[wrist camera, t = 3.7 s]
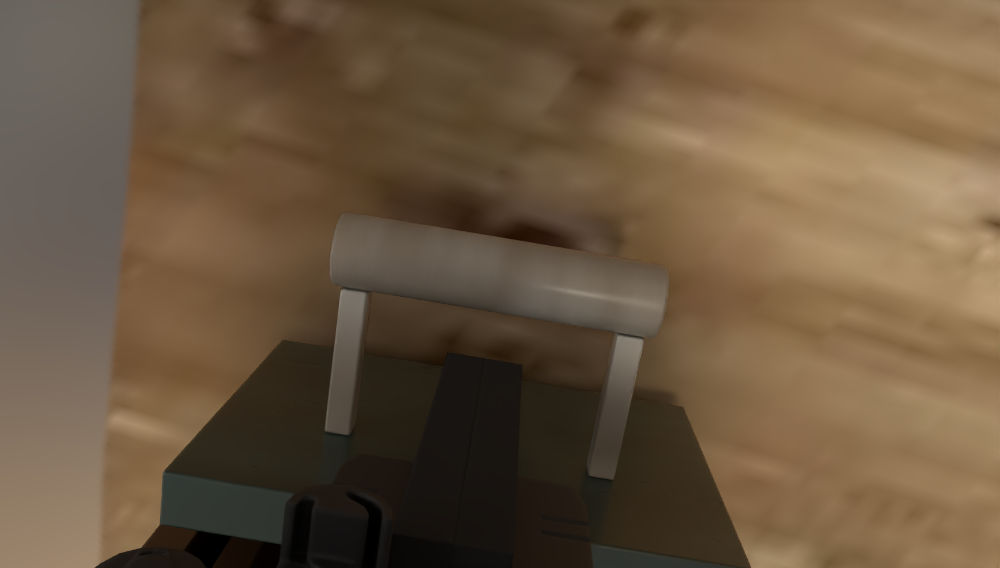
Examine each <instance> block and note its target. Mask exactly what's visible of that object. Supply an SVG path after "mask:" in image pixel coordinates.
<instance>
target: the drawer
mask: <svg viewBox="0 0 1000 568" xmlns="http://www.w3.org/2000/svg"><path fill="white" fill-rule="evenodd" d="M329 271H330V279H331V282H332V284H334V285H336V286H341V287H343V288H342V290H341V292H340V300H339V309H338V318H337V326H336V335H335V344H334V348H329V347H323V346H317V345H311V344H305V343H299V342H293V341H287V340H282V341H281V342H280V343H279V344H278V346H277V347H276V348H275V349H274V350H273V351H272V352H271V353H270V354H269V355H268V357H267V358H266V359H265V360H264V361H263V362H262V363H261V364H260V365H259V367H258V368H257V369H256V370H255V371H254V372H253V373H252V374H251V375H250V376H249V378H248V379H247V380H246V381H245V382H244V383H243V384H242V385H241V386H240V388H239V389H238V390H237V391H236V392H235V393H234V394H233V395H232V396H231V398H230V399H229V400H228V401H227V402H226V403H225V404H224V405H223V406H222V407H221V409H220V410H219V411H218V412H217V413H216V414H215V415H214V416H213V417H212V419H211V420H210V421H209V422H208V423H207V424H206V425H205V426H204V427H203V428H202V430H201V431H200V432H199V433H198V434H197V435H196V436H195V437H194V438H193V440H192V441H191V442H190V443H189V444H188V445H187V446H186V447H185V448H184V449H183V451H182V452H181V453H180V454H179V455H178V456H177V457H176V458H175V459H174V461H173V462H172V463H171V464H170V465H169V466H168V467H167V468H166V469H165V471H164V472H163V481H162V498H161V515H160V524H161V525H165V526H171V527H177V528H183V529H189V530H195V531H201V532H207V533H213V534H219V535H225V536H231V539H230V540H229V542H228V543H227V545H226V546H225V548H224V550H223V551H222V553H221V554H220V556H219V557H218V559H217V561H216V562H215V564H214V565H213V567H212V568H276V567H277V565H278V563H279V559H280V549H281V540H282V530H283V521H284V511H285V503H286V502H287V501H288V500H289V499H290V498H291V497H292V496H293V495H294V494H295V493H297V492H299V491H302V490H304V489H306V488H309V487H312V486H319V485H326V484H332V482H333V480H334V478H335V476H336V474H337V472H338V470H339V468H340V466H341V465H342V464H344V463H346V462H347V461H349V460H350V459H352V458H353V457H355V456H356V455H358V454H359V453H363V454H369V455H375V456H381V457H387V458H393V459H399V460H405V461H411V462H414V461H415V457H416V454H417V451H418V448H419V444H420V441H421V438H422V434H423V431H424V428H425V425H426V421H427V418H428V415H429V411H430V408H431V405H432V402H433V398H434V395H435V392H436V388H437V385H438V382H439V379H440V375H441V372H442V369H443V366H437V365H431V364H425V363H419V362H413V361H407V360H401V359H395V358H389V357H383V356H377V355H371V354H365V353H364V351H365V343H366V335H367V327H368V319H369V311H370V303H371V295H372V292H377V293H383V294H389V295H395V296H401V297H407V298H413V299H419V300H425V301H431V302H437V303H443V304H449V305H455V306H461V307H467V308H473V309H478V310H484V311H490V312H496V313H502V314H508V315H514V316H520V317H526V318H532V319H538V320H544V321H550V322H556V323H562V324H568V325H574V326H580V327H586V328H592V329H598V330H604V331H610V332H614V335H613V340H612V345H611V350H610V354H609V359H608V364H607V369H606V373H605V378H604V383H603V388H602V392H601V393H598V392H592V391H586V390H580V389H574V388H568V387H562V386H556V385H550V384H544V383H538V382H532V381H526V380H522V382H521V405H520V428H519V451H518V474H517V477H520V478H526V479H532V480H538V481H544V482H550V483H556V484H562V485H568V486H572V487H573V488H574V489H575V491H576V492H577V493H578V495H579V496H580V497H581V498H582V500H583V501H584V502H585V503H586V506H587V515H588V527H589V532H590V542H591V550H592V558H593V567H594V568H751V566H750V564H749V561H748V559H747V557H746V554H745V552H744V550H743V547H742V545H741V543H740V540H739V538H738V535H737V533H736V531H735V528H734V526H733V524H732V521H731V519H730V517H729V514H728V512H727V509H726V507H725V505H724V502H723V500H722V498H721V495H720V493H719V491H718V488H717V486H716V483H715V481H714V479H713V476H712V474H711V472H710V469H709V467H708V465H707V462H706V460H705V457H704V455H703V453H702V450H701V448H700V446H699V443H698V441H697V439H696V436H695V434H694V431H693V429H692V427H691V424H690V422H689V420H688V417H687V415H686V413H685V410H684V408H683V407H681V406H675V405H669V404H663V403H657V402H651V401H646V400H640V399H634V398H632V395H633V390H634V386H635V381H636V377H637V372H638V367H639V363H640V358H641V354H642V349H643V345H644V339H643V337H646V338H654V337H656V335H657V334H658V332H659V330H660V328H661V325H662V322H663V319H664V315H665V311H666V306H667V300H668V292H669V274H668V269H667V267H666V266H664V265H661V264H655V263H650V262H644V261H638V260H632V259H626V258H620V257H614V256H608V255H602V254H596V253H590V252H584V251H578V250H572V249H566V248H560V247H554V246H548V245H542V244H536V243H530V242H524V241H518V240H512V239H506V238H501V237H495V236H489V235H483V234H477V233H471V232H465V231H459V230H453V229H447V228H441V227H435V226H429V225H423V224H417V223H411V222H405V221H399V220H393V219H387V218H381V217H375V216H369V215H363V214H357V213H352V212H345V213H343V214H342V215H341V217H340V219H339V221H338V223H337V226H336V229H335V233H334V237H333V241H332V246H331V253H330V265H329Z"/></svg>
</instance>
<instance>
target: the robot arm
mask: <svg viewBox="0 0 1000 568" xmlns="http://www.w3.org/2000/svg"><path fill="white" fill-rule="evenodd" d="M521 382H522V365H521V364H515V363H509V362H503V361H497V360H491V359H485V358H479V357H473V356H467V355H461V354H455V353H449V352H447V356H446V359H445V362H444V365H443V369H442V372H441V375H440V379H439V382H438V385H437V388H436V392H435V395H434V398H433V402H432V405H431V408H430V411H429V415H428V418H427V421H426V425H425V428H424V431H423V434H422V438H421V441H420V444H419V448H418V451H417V454H416V457H415V461H414V462H411V461H405V460H399V459H393V458H387V457H381V456H375V455H369V454H363V453H359V454H358V455H356V456H355V457H353V458H352V459H350V460H349V461H347V462H346V463H344V464H342V465H341V466H340V468H339V470H338V472H337V474H336V476H335V478H334V480H333V482H332V484H326V485H319V486H312V487H309V488H306V489H304V490H302V491H299V492H297V493H295V494H294V495H293V496H292V497H291V498H290V499H289V500H288V501H287V502H286V503H285V511H284V521H283V530H282V540H281V549H280V559H279V563H278V565H277V567H276V568H594V567H593V558H592V550H591V542H590V532H589V527H588V515H587V506H586V503H585V502H584V501H583V500H582V498H581V497H580V496H579V495H578V493H577V492H576V491H575V489H574V488H573V487H572V486H568V485H562V484H556V483H550V482H544V481H538V480H532V479H526V478H520V477H517V474H518V451H519V428H520V405H521ZM95 568H206V567H205V565H204V564H203V563H202V561H201V560H200V559H199V558H197V557H195V556H193V555H191V554H190V553H188V552H186V551H182V550H177V549H172V548H167V547H149V548H139V549H135V550H131V551H127V552H123V553H119V554H118V555H116V556H114V557H112V558H110V559H108V560H106V561H104V562H102V563H101V564H99V565H98V566H96V567H95Z"/></svg>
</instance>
